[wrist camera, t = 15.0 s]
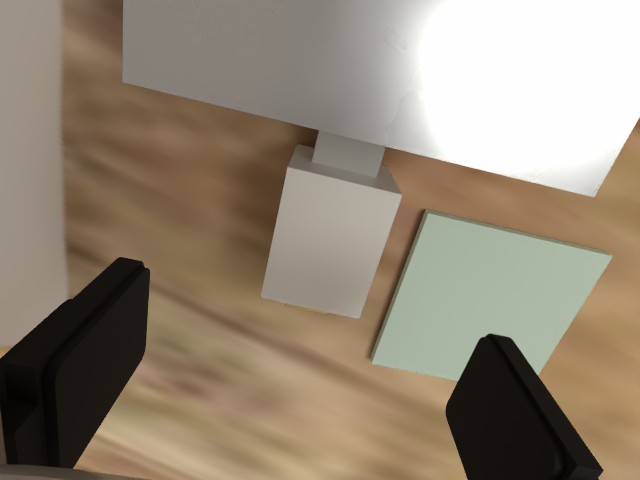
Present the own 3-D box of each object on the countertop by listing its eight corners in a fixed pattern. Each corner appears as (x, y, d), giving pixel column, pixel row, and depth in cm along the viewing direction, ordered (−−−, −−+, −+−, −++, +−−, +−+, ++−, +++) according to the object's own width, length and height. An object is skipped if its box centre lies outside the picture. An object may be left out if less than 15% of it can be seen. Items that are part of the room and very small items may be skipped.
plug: (357, -138, 14) (368, -219, 10) (472, -102, 14) (528, -167, 10) (270, 270, 21) (255, 319, 17) (348, 287, 22) (351, 339, 18)
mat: (425, 209, 20) (428, 213, 19) (605, 251, 20) (612, 256, 20) (370, 356, 24) (371, 363, 23) (521, 387, 24) (525, 394, 24)
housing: (236, -63, 15) (126, -209, 7) (522, 16, 16) (723, -32, 8) (221, 72, 17) (122, 82, 9) (474, 135, 18) (593, 197, 10)
